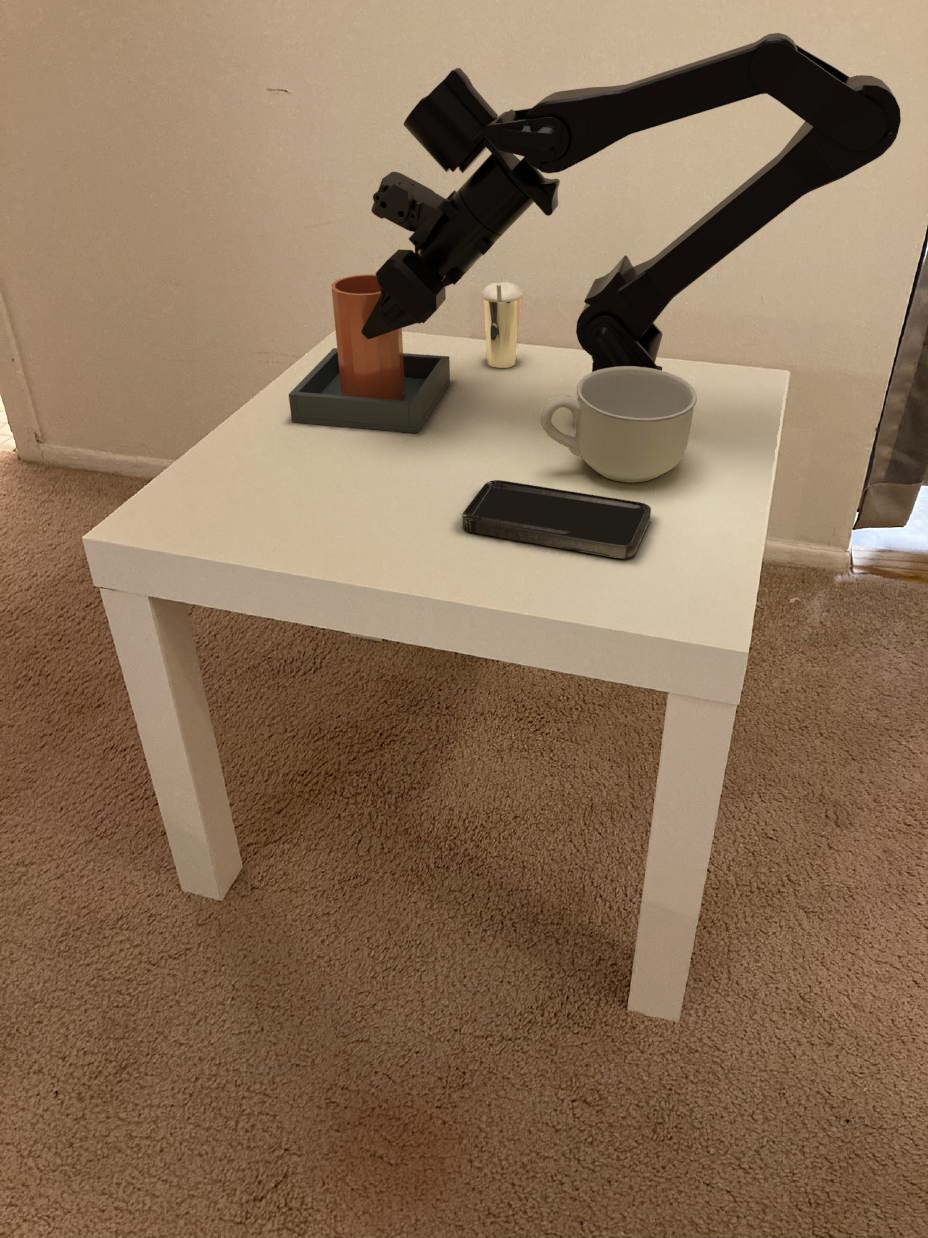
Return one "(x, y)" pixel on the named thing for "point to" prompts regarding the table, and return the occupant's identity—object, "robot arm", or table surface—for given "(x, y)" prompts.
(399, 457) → the table surface
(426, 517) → the table surface
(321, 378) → the tray
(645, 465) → the teacup
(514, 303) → the milkshake
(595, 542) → the phone
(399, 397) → the cup
